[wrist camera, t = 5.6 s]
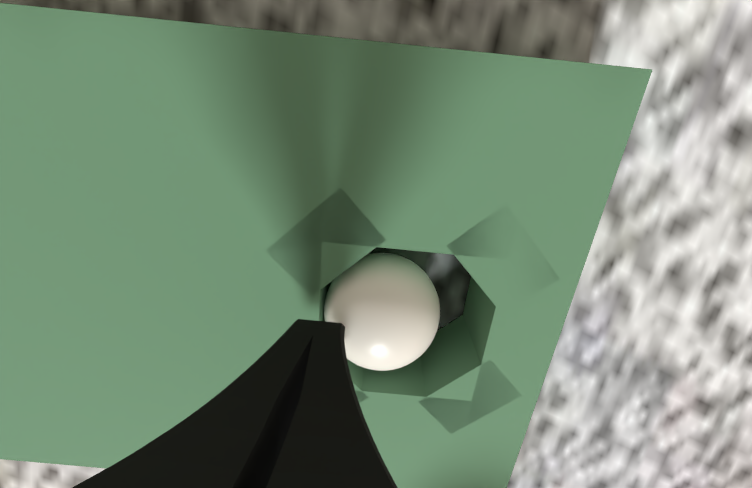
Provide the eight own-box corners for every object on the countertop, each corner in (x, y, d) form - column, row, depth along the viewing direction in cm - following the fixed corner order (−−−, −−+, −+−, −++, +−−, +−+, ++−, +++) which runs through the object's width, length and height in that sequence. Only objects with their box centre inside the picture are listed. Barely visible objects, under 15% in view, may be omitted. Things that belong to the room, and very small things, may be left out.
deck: (29, 397, 17) (-41, 455, 14) (-112, 7, 11) (-283, -26, 8) (482, 437, 17) (501, 502, 14) (585, 78, 11) (652, 69, 8)
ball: (339, 314, 15) (303, 380, 11) (347, 227, 14) (308, 273, 10) (431, 334, 15) (424, 411, 11) (450, 247, 13) (450, 302, 9)
